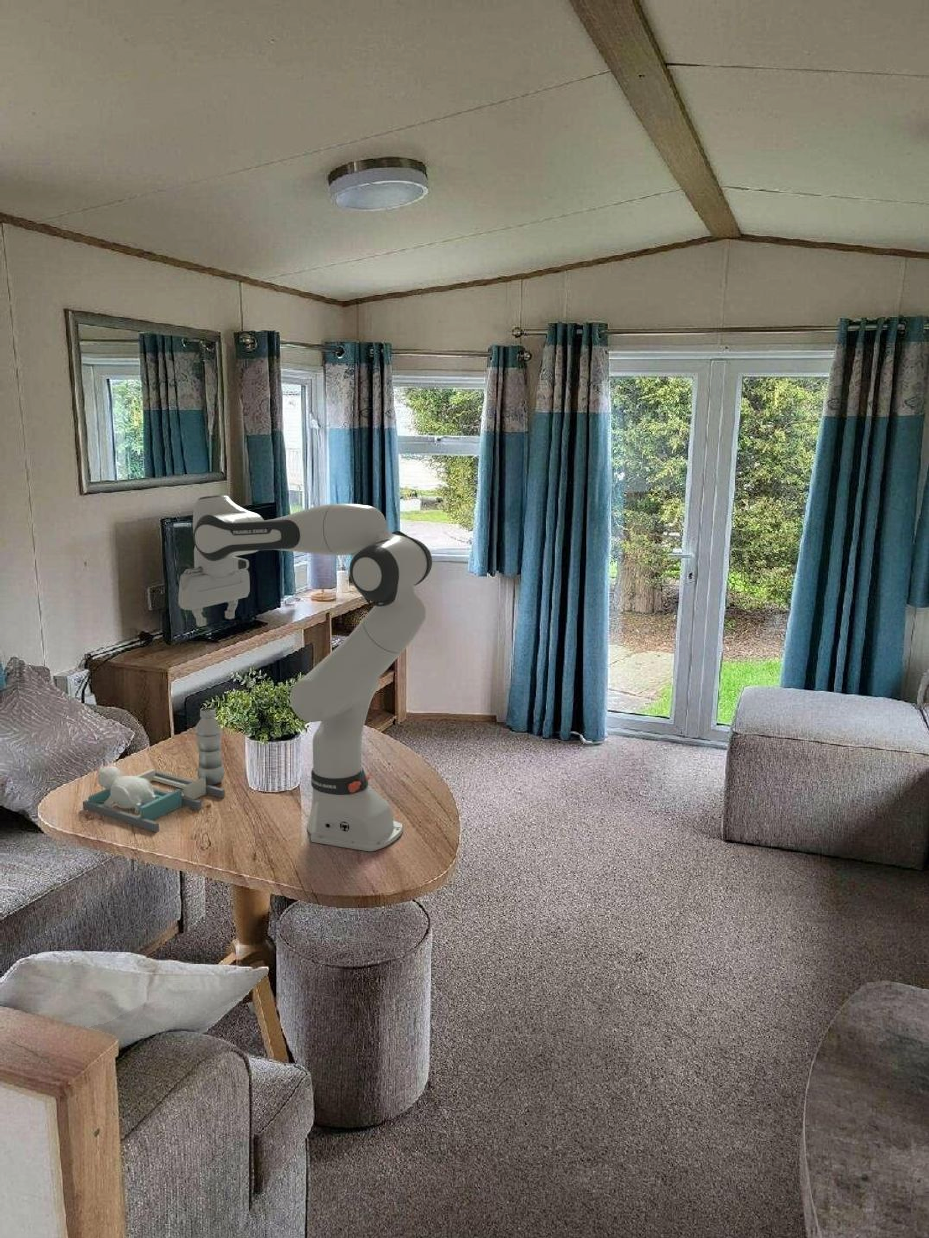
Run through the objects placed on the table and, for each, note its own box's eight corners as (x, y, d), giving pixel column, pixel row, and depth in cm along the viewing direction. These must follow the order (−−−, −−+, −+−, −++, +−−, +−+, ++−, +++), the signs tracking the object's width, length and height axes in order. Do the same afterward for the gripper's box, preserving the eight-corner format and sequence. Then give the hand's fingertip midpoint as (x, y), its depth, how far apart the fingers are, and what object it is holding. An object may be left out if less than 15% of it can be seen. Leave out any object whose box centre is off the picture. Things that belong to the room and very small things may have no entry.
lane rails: (224, 796, 217) (224, 789, 217) (155, 832, 198) (155, 824, 197) (155, 777, 228) (154, 770, 227) (83, 809, 208) (82, 801, 208)
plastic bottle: (220, 788, 222) (217, 713, 218) (194, 787, 222) (190, 713, 218) (227, 778, 228) (224, 705, 224) (202, 777, 228) (198, 705, 224)
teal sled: (182, 805, 211) (181, 789, 210) (144, 824, 201) (143, 808, 200) (128, 789, 219) (127, 774, 219) (89, 806, 209) (87, 791, 208)
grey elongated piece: (206, 793, 218) (205, 778, 217) (187, 802, 213) (186, 787, 212) (152, 778, 226) (151, 764, 226) (133, 787, 221) (132, 772, 220)
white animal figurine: (155, 812, 214) (111, 781, 219) (162, 785, 211) (118, 754, 216) (128, 826, 207) (84, 794, 211) (136, 798, 204) (91, 766, 208)
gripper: (191, 572, 192) (193, 632, 196) (253, 560, 210) (254, 615, 213) (170, 568, 195) (173, 628, 198) (233, 557, 213) (235, 612, 216)
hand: (215, 621), depth 206 cm, fingers open, 8 cm apart
